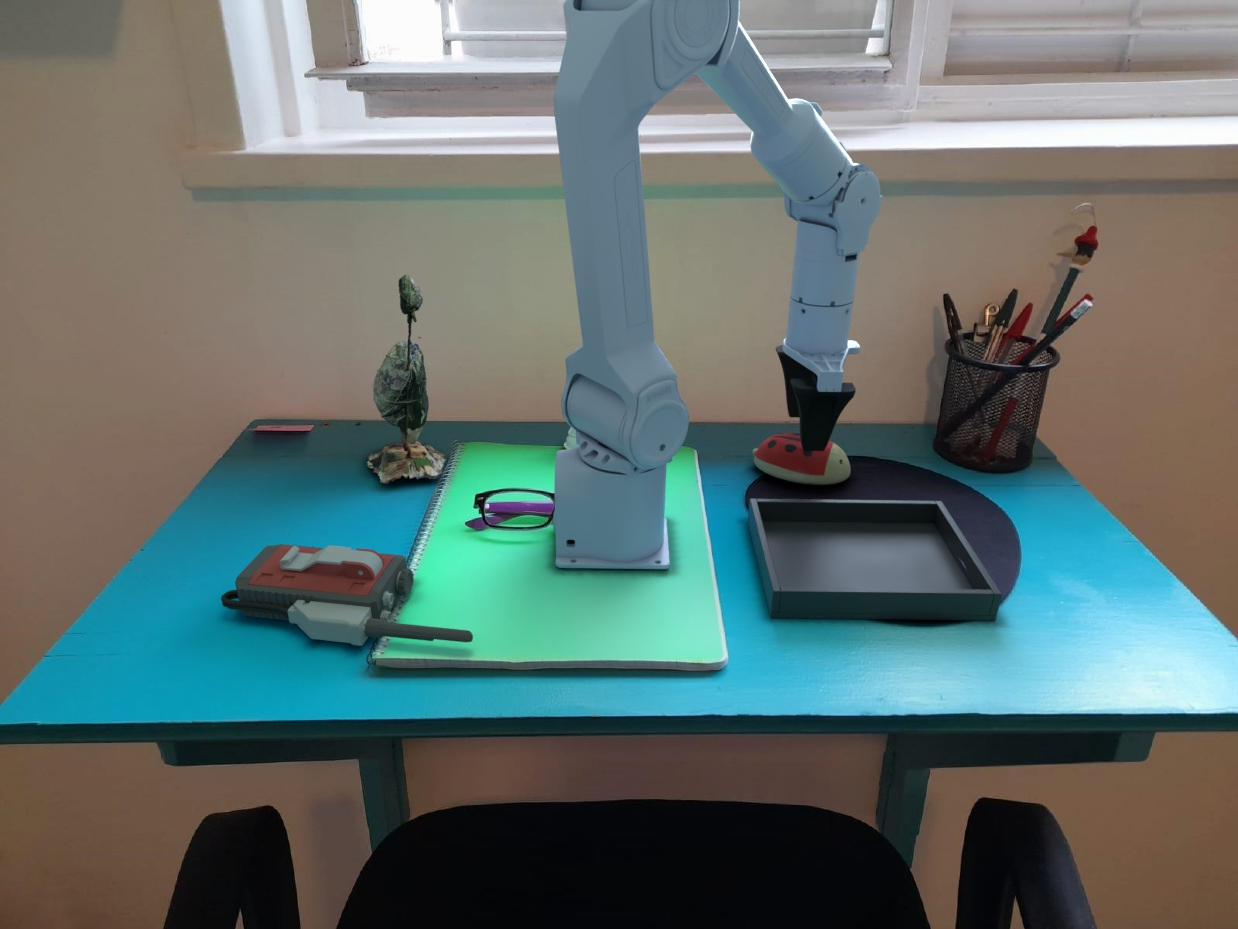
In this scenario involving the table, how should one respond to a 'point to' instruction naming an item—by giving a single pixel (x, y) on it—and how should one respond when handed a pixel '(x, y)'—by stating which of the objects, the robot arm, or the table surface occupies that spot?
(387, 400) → the plant with pod
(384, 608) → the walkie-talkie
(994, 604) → the tray
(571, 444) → the chess pawn
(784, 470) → the ladybug figurine
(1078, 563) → the table surface
